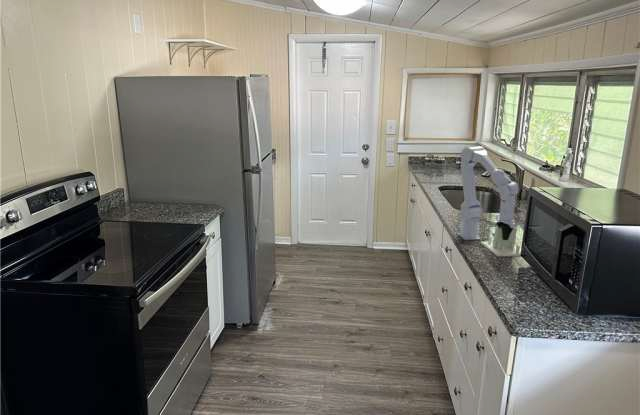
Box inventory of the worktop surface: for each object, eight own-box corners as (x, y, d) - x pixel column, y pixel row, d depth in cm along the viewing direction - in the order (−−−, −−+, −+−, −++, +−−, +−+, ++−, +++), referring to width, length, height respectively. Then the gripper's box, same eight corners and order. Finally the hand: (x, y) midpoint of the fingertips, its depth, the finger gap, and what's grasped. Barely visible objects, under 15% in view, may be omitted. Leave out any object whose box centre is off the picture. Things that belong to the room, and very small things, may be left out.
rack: (480, 243, 205) (481, 235, 204) (507, 242, 206) (508, 234, 205) (497, 256, 189) (498, 247, 188) (526, 255, 190) (527, 246, 189)
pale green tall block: (492, 246, 198) (495, 227, 196) (512, 246, 199) (514, 227, 196) (494, 247, 196) (497, 228, 194) (514, 247, 197) (517, 228, 195)
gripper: (490, 205, 200) (488, 234, 203) (506, 214, 186) (503, 244, 189) (505, 205, 200) (502, 233, 204) (522, 213, 186) (518, 244, 190)
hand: (503, 239), depth 196 cm, fingers closed on pale green tall block, 2 cm apart
